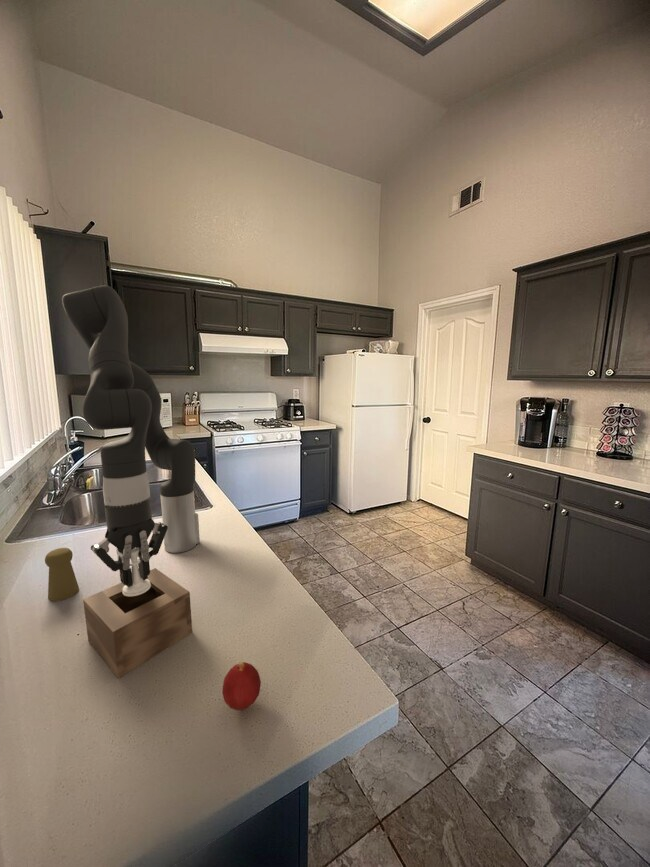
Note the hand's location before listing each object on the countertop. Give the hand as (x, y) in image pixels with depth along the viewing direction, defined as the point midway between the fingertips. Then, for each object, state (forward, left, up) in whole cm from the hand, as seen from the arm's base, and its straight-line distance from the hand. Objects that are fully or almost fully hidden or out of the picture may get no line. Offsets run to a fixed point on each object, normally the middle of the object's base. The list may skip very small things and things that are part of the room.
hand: (135, 581), depth 68 cm
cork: (+5, -29, -12) cm, 32 cm away
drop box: (0, 0, -12) cm, 12 cm away
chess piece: (0, 0, -2) cm, 2 cm away
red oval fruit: (-3, +28, -12) cm, 31 cm away
